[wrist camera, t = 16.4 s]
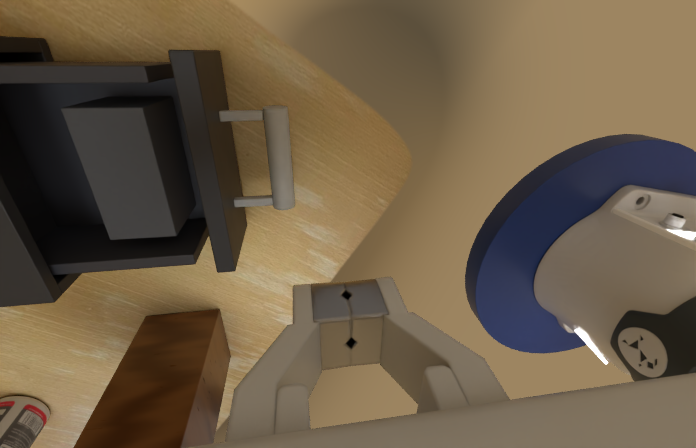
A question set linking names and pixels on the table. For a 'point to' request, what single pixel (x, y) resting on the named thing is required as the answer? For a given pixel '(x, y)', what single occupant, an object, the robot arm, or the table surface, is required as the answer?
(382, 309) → the robot arm
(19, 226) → the dark grey square case
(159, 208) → the dark grey rectangular box
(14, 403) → the pill bottle
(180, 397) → the stand
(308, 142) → the table surface
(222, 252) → the drawer
